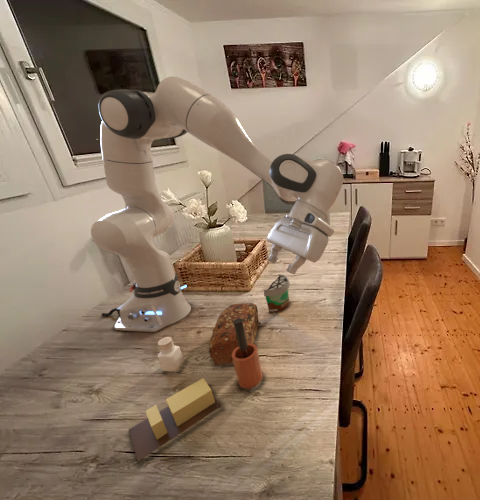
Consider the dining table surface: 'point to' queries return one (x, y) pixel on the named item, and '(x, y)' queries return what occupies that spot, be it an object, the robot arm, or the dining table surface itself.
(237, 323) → the dark grey rod
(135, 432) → the butter board
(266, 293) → the food container
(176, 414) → the butter block
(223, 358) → the bread
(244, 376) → the crock
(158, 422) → the butter slice
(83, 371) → the dining table surface
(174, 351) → the pepper shaker
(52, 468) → the dining table surface
